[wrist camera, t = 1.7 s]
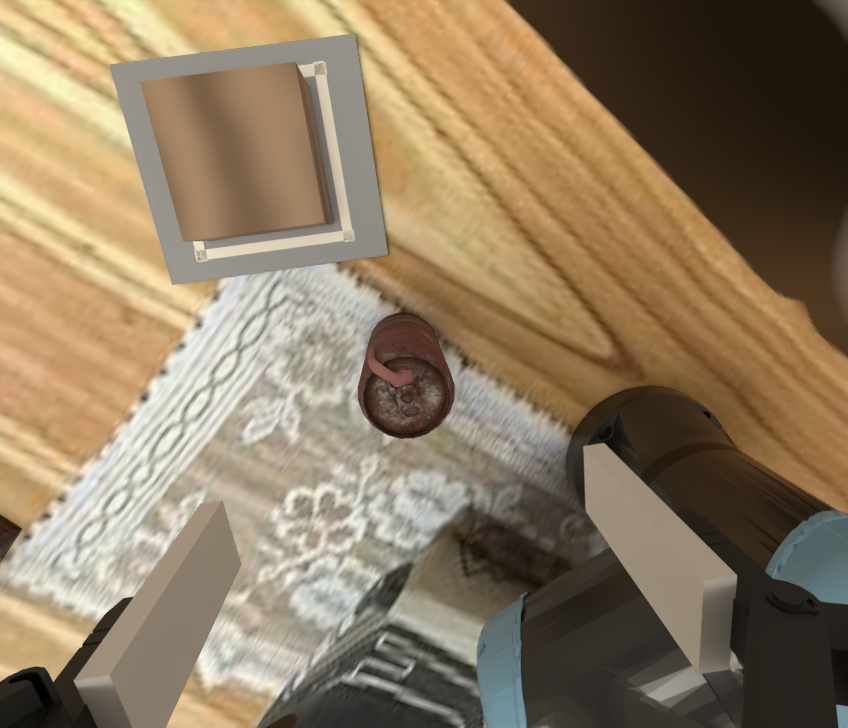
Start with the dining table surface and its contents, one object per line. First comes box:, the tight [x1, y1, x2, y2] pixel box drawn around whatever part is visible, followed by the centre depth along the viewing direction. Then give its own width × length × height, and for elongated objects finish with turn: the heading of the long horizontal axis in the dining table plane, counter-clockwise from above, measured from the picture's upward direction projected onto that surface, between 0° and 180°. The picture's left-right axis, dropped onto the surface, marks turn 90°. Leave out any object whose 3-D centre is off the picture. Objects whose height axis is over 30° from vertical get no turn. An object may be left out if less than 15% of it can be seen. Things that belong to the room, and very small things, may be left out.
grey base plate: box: [109, 34, 388, 285], centre depth 36 cm, size 18×16×1 cm
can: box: [358, 313, 454, 439], centre depth 34 cm, size 6×6×14 cm
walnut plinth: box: [140, 62, 334, 242], centre depth 33 cm, size 10×10×5 cm
